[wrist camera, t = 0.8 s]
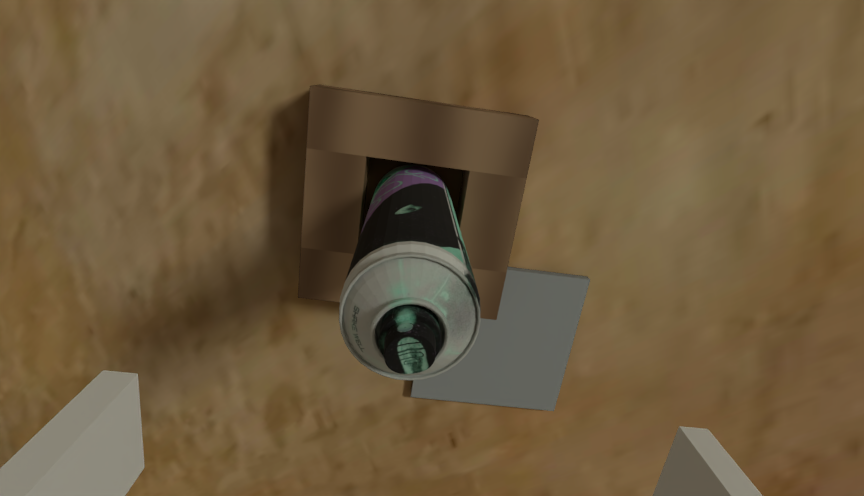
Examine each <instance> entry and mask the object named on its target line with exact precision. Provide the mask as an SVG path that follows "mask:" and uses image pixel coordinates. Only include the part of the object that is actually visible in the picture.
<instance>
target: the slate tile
mask: <svg viewBox="0 0 864 496" xmlns="http://www.w3.org/2000/svg"><path fill="white" fill-rule="evenodd" d="M589 282H590V279H589V278H588V277H586V276H578V275H570V274H562V273H554V272H545V271H537V270H529V269H521V268H513V267H508V268H507V273H506V278H505V282H504V287H503V292H502V296H501V301H500V306H499V311H498V315H497V320H491V319H483V318H480V327H479V332H478V335H477V338H476V340H475V342H474V345H473V346H472V348H471V349H470V351H469V352H468V354H467V355H466V356H465V357H464V358H463V359H462V360H461V361H460V362H459V363H458V364H457V365H455V366H454V367H452V368H451V369H449V370H448V371H446V372H443V373H441V374H439V375H437V376H434V377H430V378H426V379H421V380H413V382H412V388H411V397H417V398H427V399H437V400H447V401H458V402H468V403H478V404H488V405H498V406H508V407H518V408H528V409H539V410H549V411H554V409H555V405H556V402H557V398H558V394H559V391H560V387H561V383H562V380H563V376H564V373H565V369H566V365H567V362H568V358H569V354H570V351H571V347H572V344H573V340H574V336H575V333H576V329H577V325H578V322H579V318H580V315H581V311H582V307H583V304H584V300H585V296H586V293H587V289H588V285H589Z"/></svg>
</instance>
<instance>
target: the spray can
mask: <svg viewBox="0 0 864 496" xmlns="http://www.w3.org/2000/svg"><path fill="white" fill-rule="evenodd" d="M339 312H340V313H339V323H340V330H341V334H342V336H343V339H344V342H345V344H346V346H347V347H348V349H349V350H350V352H351V353H352V355H353V356H354V357H355V358H356V359H357V360H358V361H359V362H360V363H361V364H363V365H364V366H366V367H367V368H369V369H370V370H371V371H374V372H376V373H378V374H380V375H382V376H385V377H389V378H393V379H398V380H421V379H426V378H430V377H434V376H437V375H439V374H441V373H443V372H446V371H448V370H449V369H451V368H452V367H454V366H455V365H457V364H458V363H459V362H460V361H461V360H462V359H463V358H464V357H465V356H466V355H467V354H468V352H469V351H470V349H471V348H472V346H473V345H474V342H475V340H476V338H477V335H478V332H479V327H480V312H481V309H480V297H479V293H478V289H477V285H476V282H475V279H474V275H473V272H472V268H471V265H470V262H469V258H468V255H467V251H466V248H465V245H464V241H463V238H462V234H461V231H460V228H459V224H458V221H457V217H456V214H455V211H454V207H453V204H452V200H451V197H450V194H449V190H448V188H447V186H446V184H445V182H444V181H443V180H442V178H441V177H440V176H439V175H438V174H437V173H436V172H434V171H433V170H431V169H429V168H428V167H425V166H422V165H416V164H407V165H402V166H398V167H396V168H394V169H392V170H390V171H389V172H388V173H387V174H385V175H384V176H383V178H382V179H381V180H380V181H379V183H378V185H377V187H376V189H375V192H374V195H373V198H372V201H371V204H370V207H369V210H368V213H367V216H366V219H365V222H364V225H363V228H362V231H361V234H360V237H359V240H358V243H357V246H356V250H355V253H354V256H353V259H352V262H351V265H350V268H349V271H348V274H347V277H346V280H345V283H344V286H343V289H342V293H341V296H340V306H339Z"/></svg>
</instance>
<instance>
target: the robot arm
mask: <svg viewBox="0 0 864 496" xmlns="http://www.w3.org/2000/svg"><path fill="white" fill-rule="evenodd" d="M143 469H144V454H143V439H142V425H141V411H140V397H139V383H138V374H137V373H126V372H116V371H106V370H103V371H102V372H101V373H100V374H99V375H98V376H97V377H96V378H94V379H93V380H92V381H91V382H90V383H89V384H88V385H87V386H86V387H85V388H84V389H83V390H82V391H81V392H80V393H79V394H78V395H77V396H76V397H75V398H74V399H72V400H71V401H70V402H69V403H68V404H67V405H66V406H65V407H64V408H63V409H62V410H61V411H60V412H59V413H58V414H57V415H56V416H55V417H54V418H53V419H52V420H51V421H49V422H48V423H47V424H46V425H45V426H44V427H43V428H42V429H41V430H40V431H39V432H38V433H37V434H36V435H35V436H34V437H33V438H32V439H31V440H30V441H29V442H27V443H26V444H25V445H24V446H23V447H22V448H21V449H20V450H19V451H18V452H17V453H16V454H15V455H14V456H13V457H12V458H11V459H10V460H9V461H8V462H7V463H5V464H4V465H3V466H2V467H1V468H0V496H125V495H126V494H127V492H128V491H129V489H130V488H131V486H132V485H133V483H134V482H135V481H136V479H137V478H138V476H139V475H140V473H141V472H142V470H143ZM653 496H762V494H761V493H760V492H759V491H758V489H757V488H756V487H755V486H754V485H753V483H752V482H751V481H750V480H749V478H748V477H747V476H746V475H745V474H744V472H743V471H742V470H741V469H740V468H739V466H738V465H737V464H736V463H735V461H734V460H733V459H732V458H731V457H730V455H729V454H728V453H727V452H726V450H725V449H724V448H723V447H722V446H721V444H720V443H719V442H718V441H717V440H716V438H715V437H714V436H713V435H712V433H711V432H710V431H709V430H708V429H702V428H691V427H681V426H679V428H678V431H677V433H676V436H675V439H674V441H673V444H672V446H671V449H670V452H669V454H668V457H667V459H666V462H665V465H664V467H663V470H662V473H661V475H660V478H659V480H658V483H657V486H656V488H655V491H654V494H653Z"/></svg>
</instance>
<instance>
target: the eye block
mask: <svg viewBox="0 0 864 496" xmlns="http://www.w3.org/2000/svg"><path fill="white" fill-rule="evenodd" d="M538 122H539V120H538V119H535V118H533V117H530V116H526V115H520V114H513V113H506V112H499V111H493V110H486V109H479V108H473V107H466V106H459V105H453V104H446V103H439V102H432V101H426V100H419V99H412V98H406V97H399V96H392V95H385V94H379V93H372V92H365V91H359V90H352V89H345V88H338V87H332V86H325V85H313V86H310V96H309V114H308V131H307V148H306V166H305V183H304V201H303V218H302V236H301V253H300V270H299V288H298V298H306V299H315V300H324V301H333V302H340V296H341V293H342V289H343V286H344V283H345V280H346V277H347V274H348V271H349V268H350V265H351V262H352V259H353V256H354V253H355V250H356V246H357V243H358V240H359V237H360V234H361V231H362V226H363V217H364V207H365V197H366V187H367V177H368V167H369V157H374V158H381V159H388V160H396V161H403V162H410V163H417V164H425V165H432V166H439V167H446V168H454V169H461V170H464V173H463V179H462V185H461V191H460V197H459V203H458V209H457V215H456V217H457V221H458V224H459V228H460V231H461V234H462V238H463V241H464V245H465V248H466V251H467V255H468V258H469V262H470V265H471V268H472V272H473V275H474V279H475V282H476V285H477V289H478V293H479V297H480V309H481V312H480V318H483V319H491V320H497V315H498V311H499V306H500V301H501V296H502V292H503V287H504V282H505V278H506V273H507V268H508V263H509V259H510V254H511V249H512V245H513V240H514V235H515V230H516V226H517V221H518V216H519V212H520V207H521V202H522V197H523V193H524V188H525V183H526V178H527V174H528V169H529V164H530V160H531V155H532V150H533V145H534V141H535V136H536V131H537V127H538Z"/></svg>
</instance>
